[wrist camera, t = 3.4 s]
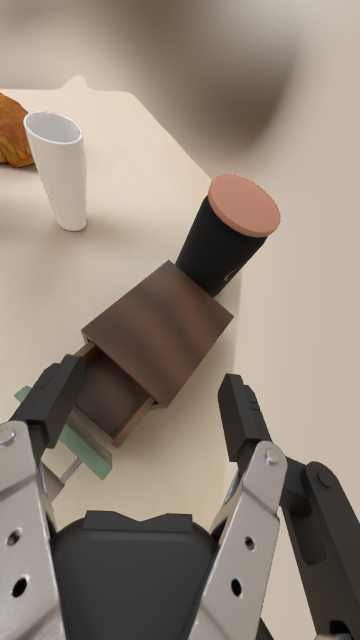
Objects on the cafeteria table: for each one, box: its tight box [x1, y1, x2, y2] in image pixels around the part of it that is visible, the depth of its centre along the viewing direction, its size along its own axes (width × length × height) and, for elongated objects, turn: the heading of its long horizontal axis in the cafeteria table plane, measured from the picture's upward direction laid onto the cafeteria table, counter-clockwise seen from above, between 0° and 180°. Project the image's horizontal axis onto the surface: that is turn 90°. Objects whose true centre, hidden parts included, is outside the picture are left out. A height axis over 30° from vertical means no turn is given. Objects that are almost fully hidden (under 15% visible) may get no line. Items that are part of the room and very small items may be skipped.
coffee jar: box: [175, 174, 280, 297], centre depth 35 cm, size 11×11×18 cm
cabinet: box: [81, 260, 234, 410], centre depth 30 cm, size 16×13×10 cm
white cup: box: [23, 111, 87, 231], centre depth 33 cm, size 7×7×15 cm
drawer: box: [14, 341, 156, 502], centre depth 25 cm, size 19×11×8 cm, turn 142°
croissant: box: [0, 93, 35, 167], centre depth 39 cm, size 14×16×8 cm
